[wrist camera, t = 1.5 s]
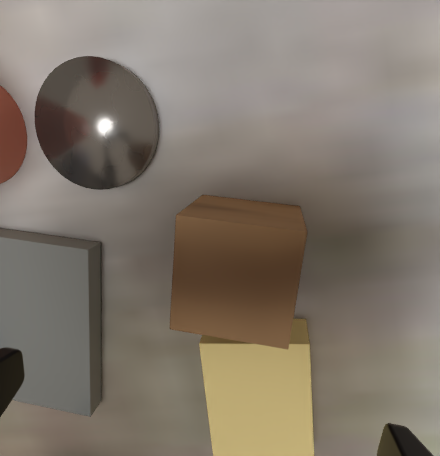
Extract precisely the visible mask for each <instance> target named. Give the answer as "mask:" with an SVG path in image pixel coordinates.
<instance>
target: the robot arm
mask: <svg viewBox="0 0 440 456" xmlns="http://www.w3.org/2000/svg"><path fill="white" fill-rule="evenodd" d="M24 377H25V373H24V363H23V355H22V352H21V351H20V350H19V349H14V348H9V347H4V348H1V349H0V417H1V415H2V414H3V412H4V411H5V409H6V408H7V406H8V405H9V404H10V402H11V401H12V399H13V398H14V396H15V395H16V393H17V392H18V390H19V389H20V387H21V386H22V384H23V381H24ZM377 456H433V455H432V453H431V452H430V451H429V450H428V449H427V448H426V447H425V446H424V445H423V444H422V443H421V442H420V441H419V440H418V438H417V437H416V436H415V435H414V434H413V433H412V432H411V431H410V430H409V429H408V428H407V427H405V426H401V425H396V424H391V423H388V424H386V425H385V427H384V429H383V433H382V436H381V440H380V444H379V447H378V451H377Z"/></svg>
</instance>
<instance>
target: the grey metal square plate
mask: <svg viewBox="0 0 440 456" xmlns="http://www.w3.org/2000/svg"><path fill="white" fill-rule="evenodd" d="M4 347H9V348H14V349H19V350H20V351H21V352H22V355H23V363H24V373H25V377H24V381H23V384H22V386H21V387H20V389H19V390H18V392H17V393H16V395H15V396H14V398H13V399H12V400H15V401H19V402H24V403H29V404H33V405H38V406H43V407H47V408H52V409H57V410H61V411H66V412H71V413H75V414H80V415H85V416H89V417H91V415H92V414H93V412H94V411H95V409H96V408H97V406H98V405H99V403H100V402H101V242H94V241H87V240H80V239H73V238H66V237H59V236H52V235H45V234H38V233H31V232H24V231H17V230H10V229H3V228H0V349H1V348H4Z"/></svg>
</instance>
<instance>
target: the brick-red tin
mask: <svg viewBox="0 0 440 456" xmlns="http://www.w3.org/2000/svg"><path fill="white" fill-rule="evenodd" d="M26 149H27V132H26V126H25V122H24V119H23V116H22V114H21V111H20V109H19V107H18V106H17V104H16V102H15V101H14V99H13V98H12V97H11V95H10V94H9V93H8V92H7V91H6V90H5V89H4V88H3V87H2V86H1V85H0V184H1V183H3V182H5V181H7V180H9V179H10V178H11V177H12V176H14V175H15V174H16V172H17V171H18V170H19V168H20V167H21V165H22V163H23V160H24V158H25V154H26Z"/></svg>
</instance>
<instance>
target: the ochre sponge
mask: <svg viewBox="0 0 440 456" xmlns="http://www.w3.org/2000/svg"><path fill="white" fill-rule="evenodd" d="M199 346H200V354H201V362H202V370H203V378H204V386H205V394H206V402H207V410H208V418H209V426H210V434H211V442H212V450H213V456H314V443H313V417H312V391H311V366H310V343H309V336H308V330H307V323H306V319H293V323H292V329H291V336H290V342H289V348H288V349H282V348H276V347H270V346H265V345H259V344H253V343H247V342H241V341H236V340H230V339H224V338H218V337H212V336H207V335H202V337H201V340H200V343H199Z"/></svg>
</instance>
